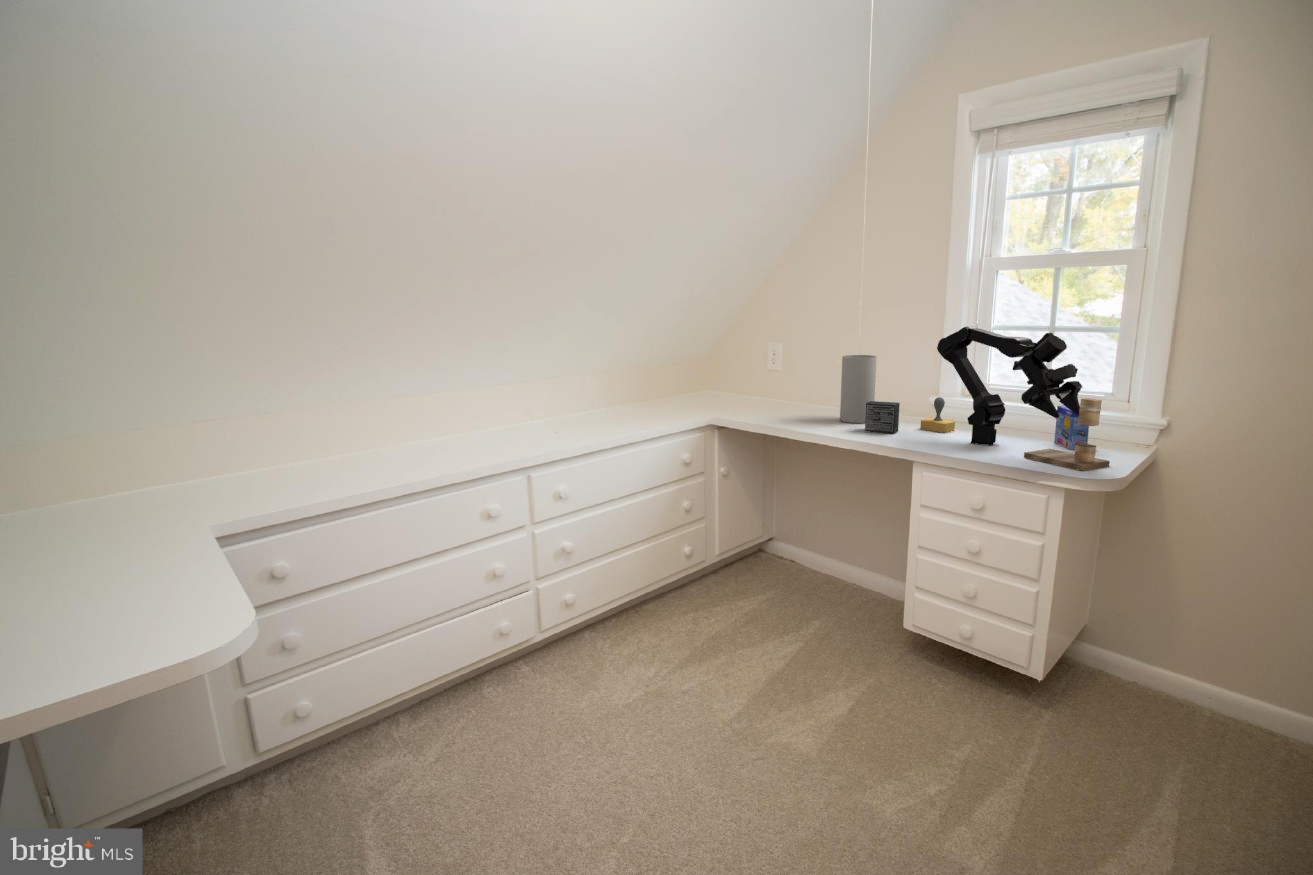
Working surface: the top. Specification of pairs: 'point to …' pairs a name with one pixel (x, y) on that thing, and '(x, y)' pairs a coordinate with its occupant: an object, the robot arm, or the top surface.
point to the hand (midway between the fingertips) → (1069, 416)
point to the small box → (882, 417)
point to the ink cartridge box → (1069, 429)
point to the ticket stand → (1070, 457)
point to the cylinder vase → (857, 386)
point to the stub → (1089, 412)
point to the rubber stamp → (938, 420)
